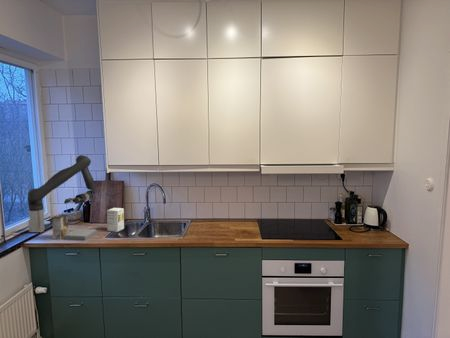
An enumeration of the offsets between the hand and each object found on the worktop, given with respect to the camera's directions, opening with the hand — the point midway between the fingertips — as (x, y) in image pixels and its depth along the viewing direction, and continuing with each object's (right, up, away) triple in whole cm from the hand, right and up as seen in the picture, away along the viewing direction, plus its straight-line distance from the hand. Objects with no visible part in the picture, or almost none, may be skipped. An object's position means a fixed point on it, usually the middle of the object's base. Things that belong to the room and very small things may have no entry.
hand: (70, 202), depth 216 cm
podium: (+12, -24, -7) cm, 28 cm away
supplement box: (+31, -23, +10) cm, 40 cm away
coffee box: (-1, -25, -10) cm, 26 cm away
